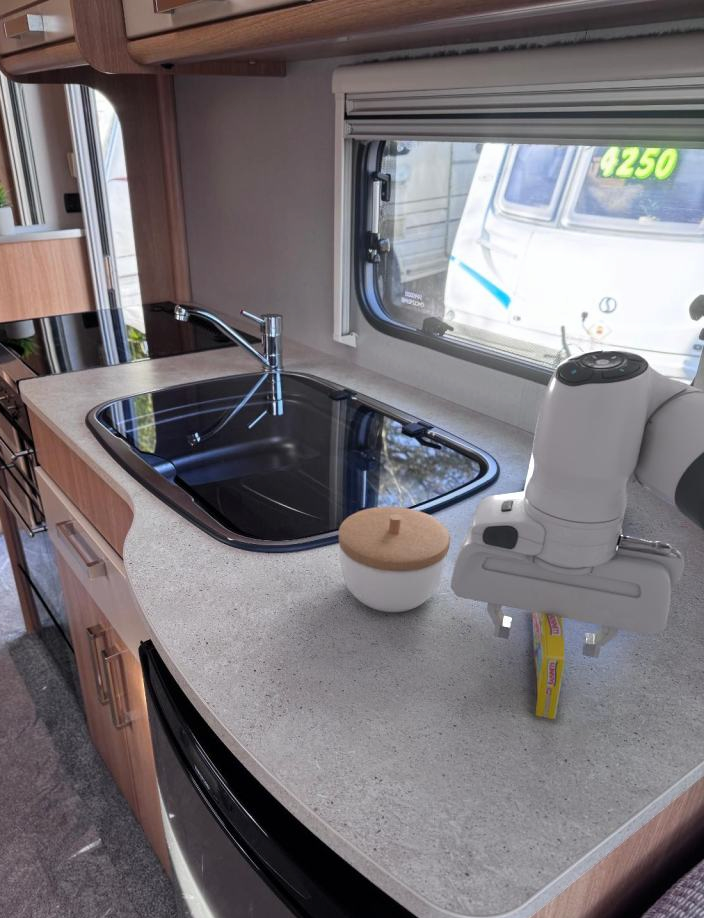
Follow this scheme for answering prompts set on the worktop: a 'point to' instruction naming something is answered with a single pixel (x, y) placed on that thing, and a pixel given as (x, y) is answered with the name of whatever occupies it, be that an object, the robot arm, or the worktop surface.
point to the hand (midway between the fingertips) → (545, 643)
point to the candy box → (548, 662)
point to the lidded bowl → (392, 557)
